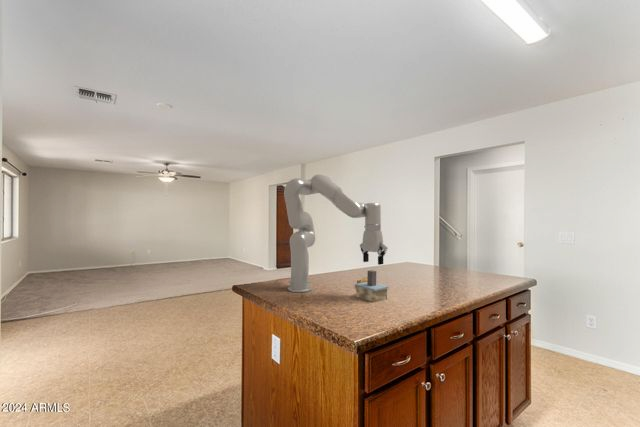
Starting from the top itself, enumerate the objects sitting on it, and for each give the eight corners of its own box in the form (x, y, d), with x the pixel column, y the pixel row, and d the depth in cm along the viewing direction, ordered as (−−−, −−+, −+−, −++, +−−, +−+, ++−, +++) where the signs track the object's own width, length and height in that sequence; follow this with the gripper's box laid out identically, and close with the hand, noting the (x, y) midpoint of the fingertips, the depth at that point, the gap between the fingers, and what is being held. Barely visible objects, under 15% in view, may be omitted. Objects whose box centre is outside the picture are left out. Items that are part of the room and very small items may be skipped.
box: (356, 297, 159) (356, 285, 159) (368, 294, 164) (369, 283, 164) (374, 303, 149) (374, 290, 149) (387, 300, 155) (387, 288, 155)
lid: (355, 285, 159) (355, 269, 159) (369, 282, 165) (369, 267, 165) (374, 291, 149) (374, 274, 149) (388, 288, 155) (389, 272, 155)
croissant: (382, 301, 166) (388, 287, 167) (367, 293, 163) (374, 279, 164) (361, 290, 186) (367, 277, 187) (348, 283, 182) (354, 270, 183)
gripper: (355, 227, 161) (355, 261, 161) (381, 229, 147) (381, 266, 147) (365, 227, 165) (365, 260, 166) (391, 228, 152) (392, 264, 152)
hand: (373, 263), depth 156 cm, fingers open, 9 cm apart
